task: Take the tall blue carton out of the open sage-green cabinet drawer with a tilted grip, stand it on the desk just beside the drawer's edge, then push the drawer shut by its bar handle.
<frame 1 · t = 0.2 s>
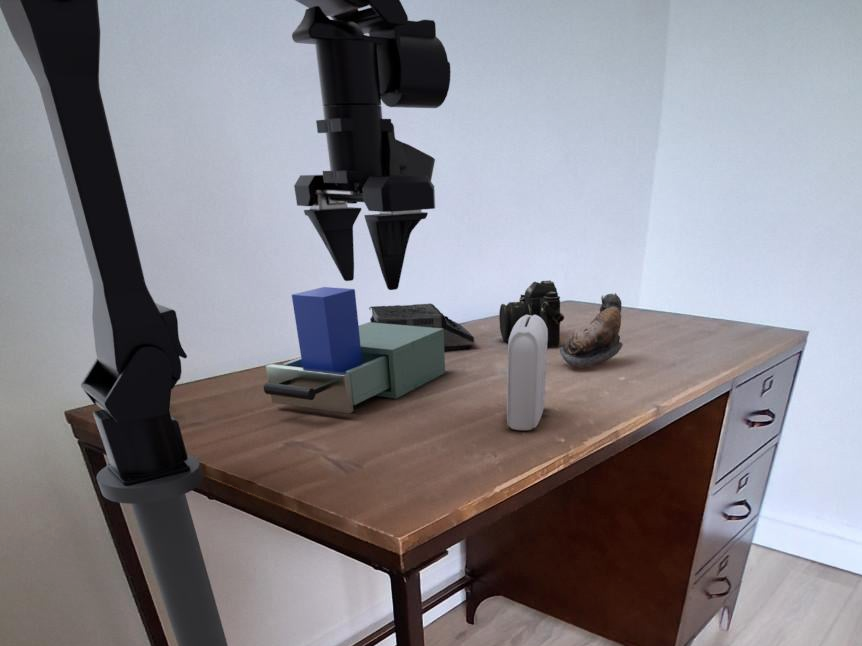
hand: (370, 284, 75), 16 cm above the table, tool pointing down, fingers open, 9 cm apart
electronic device: (422, 346, 124), on the table
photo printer: (525, 420, 87), on the table
cabinet: (383, 380, 104), on the table
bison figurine: (589, 365, 111), on the table
film camera: (530, 341, 127), on the table
drawer: (329, 380, 91), point 3 cm above the table, slide at 10.0 cm, touching carton
carton: (336, 387, 93), point 2 cm above the table, touching drawer
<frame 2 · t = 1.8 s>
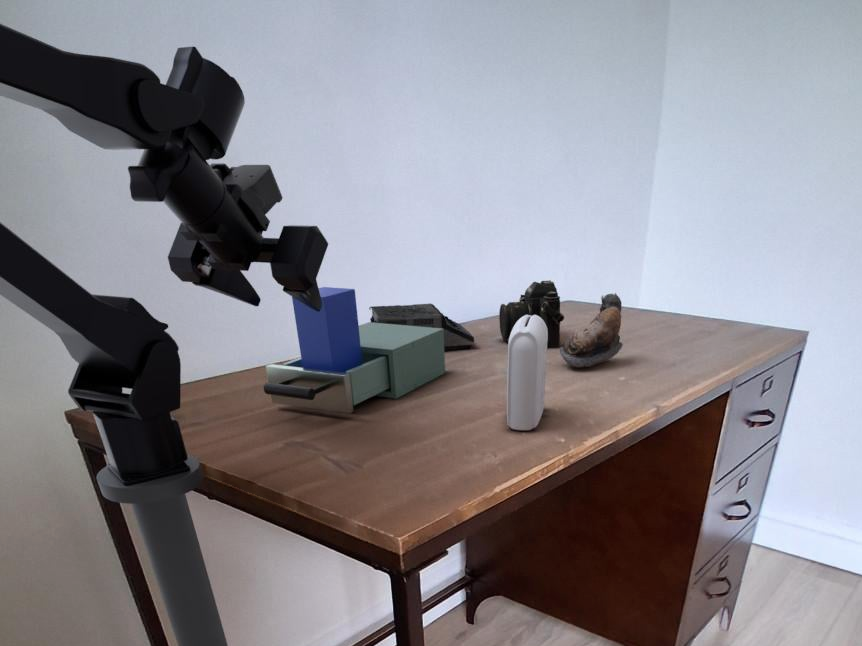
hand: (288, 305, 81), 13 cm above the table, tool tilted 45°, fingers open, 9 cm apart
nothing on the table moved.
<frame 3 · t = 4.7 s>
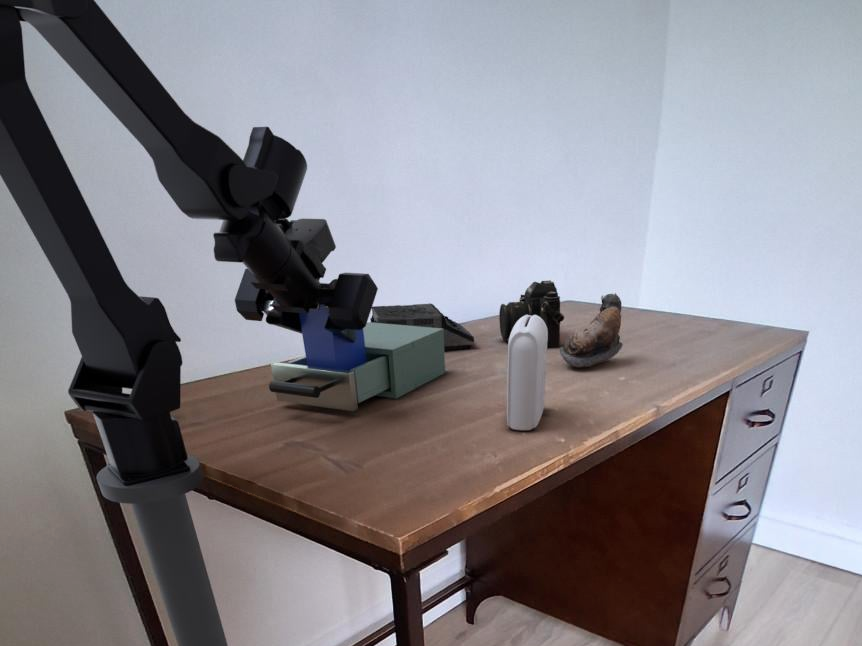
hand: (337, 337, 91), 8 cm above the table, tool tilted 45°, fingers closed on carton, 5 cm apart
drawer: (333, 378, 92), point 3 cm above the table, slide at 8.9 cm, touching carton
carton: (340, 385, 94), point 2 cm above the table, touching drawer, gripper
everything else where it was.
when the fingers open (6 cm above the table, at t = 11.5 s): carton stays where it is, on the table.
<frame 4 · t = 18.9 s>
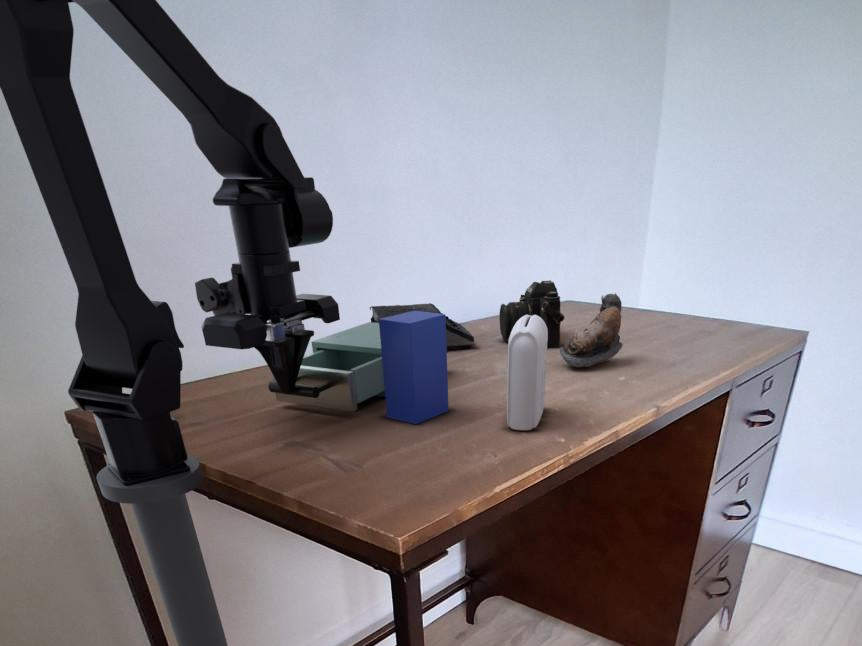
hand: (288, 393, 85), 4 cm above the table, tool pointing down, fingers closed
drawer: (333, 378, 92), point 3 cm above the table, slide at 9.0 cm, touching gripper
carton: (418, 414, 89), on the table
everything else where it was.
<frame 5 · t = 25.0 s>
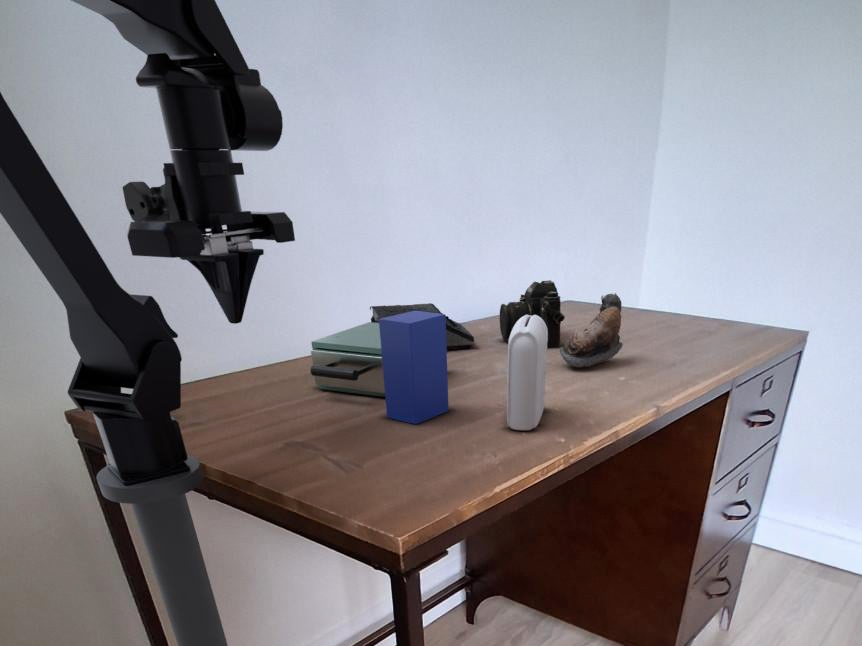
hand: (235, 322, 75), 13 cm above the table, tool pointing down, fingers closed
drawer: (368, 363, 99), point 3 cm above the table, slide at 0.0 cm
everything else where it was.
at the end: carton inside the target area (0.5 cm from its centre), on the table; carton tilted 0°; drawer slide at 0.0 cm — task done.
